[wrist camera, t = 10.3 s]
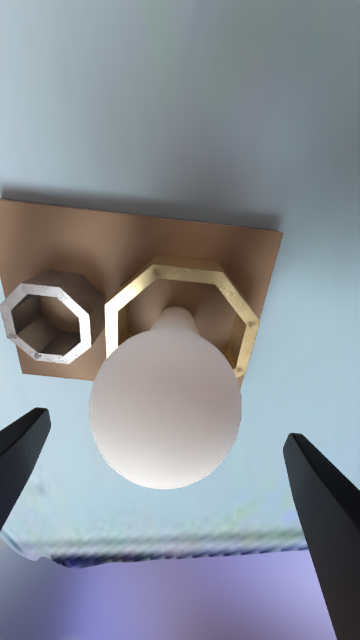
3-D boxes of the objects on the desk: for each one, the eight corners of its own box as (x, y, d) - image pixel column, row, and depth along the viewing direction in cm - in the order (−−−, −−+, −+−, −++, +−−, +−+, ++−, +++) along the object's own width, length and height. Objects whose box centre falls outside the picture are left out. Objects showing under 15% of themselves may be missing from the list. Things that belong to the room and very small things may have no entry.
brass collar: (257, 264, 15) (272, 277, 13) (230, 375, 19) (237, 403, 17) (118, 248, 15) (103, 258, 13) (119, 363, 19) (107, 389, 16)
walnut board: (275, 230, 16) (283, 232, 15) (235, 384, 22) (238, 396, 20) (0, 198, 16) (-18, 198, 14) (32, 362, 21) (22, 373, 20)
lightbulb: (155, 363, 19) (119, 536, 9) (118, 295, 17) (14, 433, 7) (230, 339, 18) (279, 510, 8) (202, 262, 15) (222, 372, 6)
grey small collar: (104, 275, 16) (87, 290, 13) (106, 342, 18) (92, 366, 16) (25, 266, 16) (-8, 279, 13) (37, 335, 18) (11, 358, 16)
